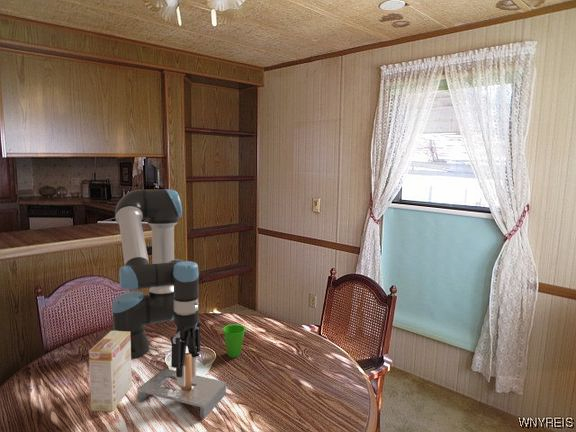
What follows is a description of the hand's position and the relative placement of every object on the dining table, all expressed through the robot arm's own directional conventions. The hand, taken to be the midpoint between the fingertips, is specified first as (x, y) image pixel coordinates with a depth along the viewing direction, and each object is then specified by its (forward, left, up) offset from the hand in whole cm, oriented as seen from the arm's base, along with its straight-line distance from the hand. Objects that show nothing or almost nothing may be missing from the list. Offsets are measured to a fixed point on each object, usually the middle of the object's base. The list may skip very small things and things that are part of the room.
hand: (186, 380), depth 130 cm
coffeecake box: (-22, -8, -7) cm, 25 cm away
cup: (+1, +33, -7) cm, 34 cm away
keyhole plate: (-1, 0, -7) cm, 7 cm away
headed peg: (0, 0, -7) cm, 7 cm away
